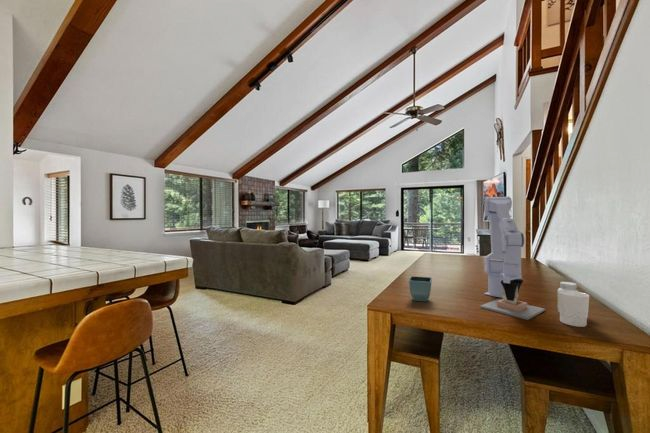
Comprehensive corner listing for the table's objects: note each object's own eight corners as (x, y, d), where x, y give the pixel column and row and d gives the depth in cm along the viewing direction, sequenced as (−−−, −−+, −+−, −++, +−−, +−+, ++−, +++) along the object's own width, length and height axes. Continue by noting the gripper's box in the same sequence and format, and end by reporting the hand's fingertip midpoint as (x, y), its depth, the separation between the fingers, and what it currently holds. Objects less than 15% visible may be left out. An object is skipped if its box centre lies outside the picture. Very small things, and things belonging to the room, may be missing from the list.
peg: (506, 302, 114) (505, 284, 114) (518, 304, 111) (517, 286, 111) (503, 304, 111) (502, 286, 111) (515, 306, 108) (514, 288, 108)
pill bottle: (583, 316, 103) (583, 285, 103) (563, 315, 104) (563, 284, 104) (572, 310, 109) (572, 281, 109) (553, 309, 110) (554, 280, 110)
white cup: (551, 319, 100) (552, 290, 100) (572, 318, 101) (573, 289, 101) (573, 328, 92) (573, 297, 92) (595, 327, 93) (596, 296, 93)
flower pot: (408, 301, 120) (408, 280, 120) (410, 296, 128) (410, 275, 128) (431, 304, 117) (431, 282, 117) (431, 298, 125) (431, 277, 125)
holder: (498, 300, 122) (499, 293, 122) (544, 310, 109) (544, 303, 109) (480, 307, 112) (480, 300, 112) (527, 319, 99) (527, 311, 99)
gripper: (506, 260, 118) (505, 293, 118) (494, 264, 108) (494, 300, 109) (526, 262, 113) (526, 296, 113) (516, 267, 103) (515, 304, 103)
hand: (512, 299), depth 111 cm, fingers closed on peg, 4 cm apart
